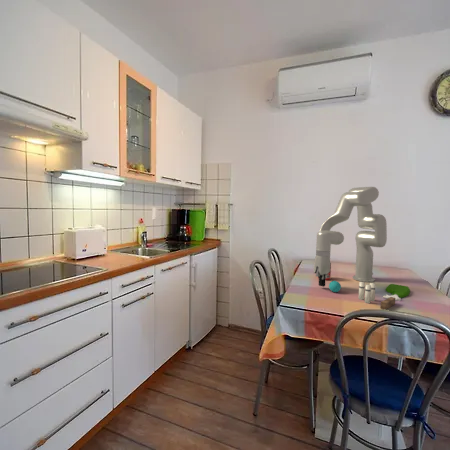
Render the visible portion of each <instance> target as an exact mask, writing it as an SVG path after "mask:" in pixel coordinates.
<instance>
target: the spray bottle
mask: <svg viewBox="0 0 450 450" xmlns="http://www.w3.org/2000/svg"><path fill="white" fill-rule="evenodd" d="M385 292H387V293H389V294H391V295H389V294H385V295H383V296H382V297H383V298H384V299H388V298H389V297H393V298H395V301H397V302H401V300H402V299H403V298H405V297H408V296H409V295H410V293H411V289H410V287H409V286H407V285H402V284H395V283H390V284H388V285H387V286H386V287H385ZM401 298H402V299H401Z"/></svg>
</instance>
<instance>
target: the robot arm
mask: <svg viewBox="0 0 450 450" xmlns="http://www.w3.org/2000/svg"><path fill="white" fill-rule="evenodd" d="M379 194H380V192H379V189H378V188H377V187H375V186H362V187H352V188H350V189H349V190H348V191H347V192H344V193H343V194H341V196H340V199H339V200H338V203H337V206H336V208H335V210H334V213H333V214H332V215H331V216H329V217H328V218H327V219H326V220H325V221H324V222H323V223H322V224H321V226H320V227H319V228H320V229H319V231H318V232H316V244H315V246H316V248H315V258H314V263H313V274H315V277H317V279H318V286H319V287H323V288H324V287H325V286H326V280H325V279H326V276H327V275H328V273H329V272H330V262H331V249H332V248H331V247H332V245H335V246H337V245H340V244H342V243H343V242H344V240H345V236H344V234H343V233H342V232H340V231H336V230H331V229H333V227H334V226H336V225H339V224H341V223H343V222H346V221H348V220H349V219H350V217H351V215H352V211H353V209H354V207H356V211H357V213H356V214H357V226H358V228H360V229H365V230H359V231H357V232H356V233H355V246H356V257H355V275H353V276H352V279H353V280H355V281H359V282H365V283H374V282H375V280H376V278H374V277H373V275H374V272H373V268H374V267H373V264H374V251H373V249H372V248H383V247H385V246H386V244H387V239H388V238H387V236H388V234H387V233H388V230H387V227H388V226H387V219H386V217H385V215H383V214H379V213H374V212H373V205H372V203H374V202H375V201H376V200H377V199H378V197H379ZM372 230H374V231H372Z"/></svg>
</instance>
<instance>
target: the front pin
mask: <svg viewBox="0 0 450 450" xmlns="http://www.w3.org/2000/svg"><path fill="white" fill-rule="evenodd" d="M358 283H359V284H358V300H360V301H365V285H366V282H363V281H359V282H358Z"/></svg>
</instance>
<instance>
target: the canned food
mask: <svg viewBox="0 0 450 450" xmlns="http://www.w3.org/2000/svg"><path fill="white" fill-rule="evenodd" d="M331 270H332V262H331V261H330V272H329V273H328V275H327V276H326V279H325V281H330V280H331V277H332V276H331V275H332V274H331V272H332V271H331Z"/></svg>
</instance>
